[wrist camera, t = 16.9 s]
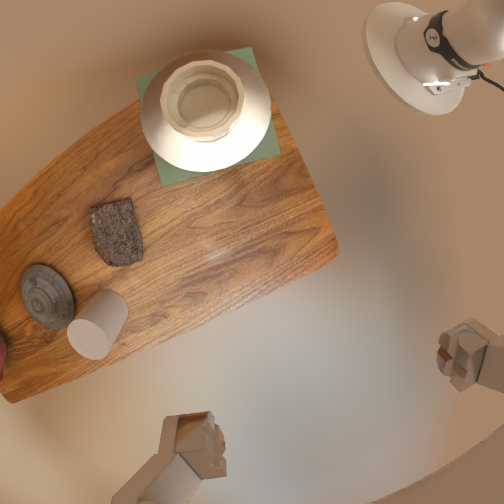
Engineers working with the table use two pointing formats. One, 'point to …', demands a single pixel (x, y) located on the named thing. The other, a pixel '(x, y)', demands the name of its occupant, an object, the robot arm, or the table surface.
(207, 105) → the small bowl
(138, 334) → the table surface
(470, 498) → the robot arm
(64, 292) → the flying saucer
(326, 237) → the table surface
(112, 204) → the stone
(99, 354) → the taupe round pillar
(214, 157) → the scale
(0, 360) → the bowl
